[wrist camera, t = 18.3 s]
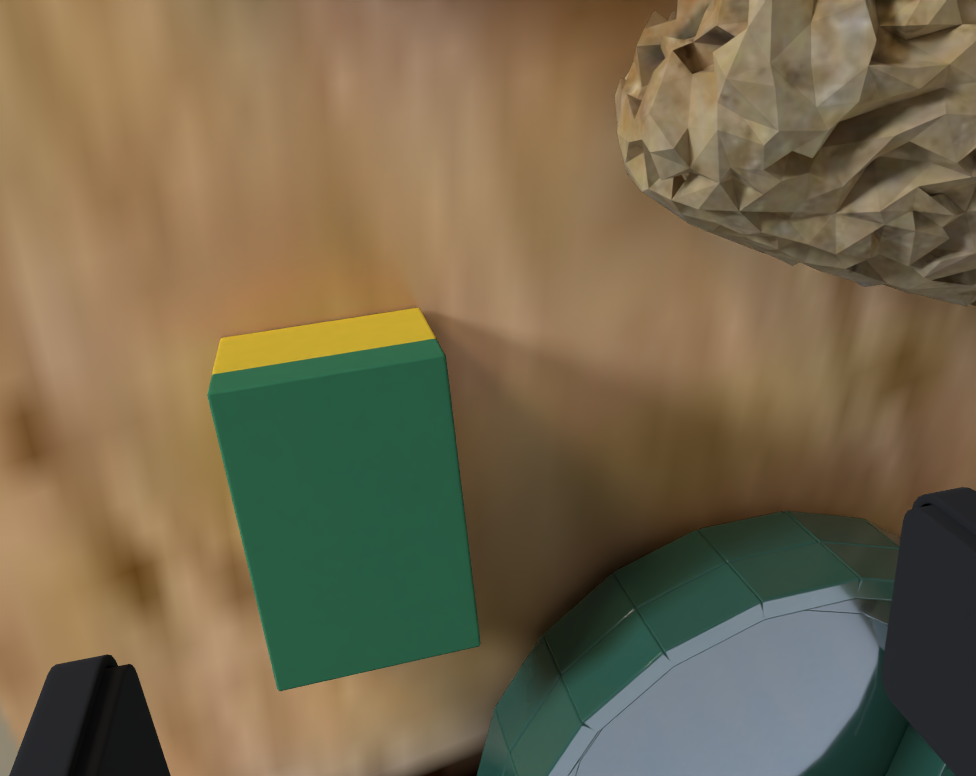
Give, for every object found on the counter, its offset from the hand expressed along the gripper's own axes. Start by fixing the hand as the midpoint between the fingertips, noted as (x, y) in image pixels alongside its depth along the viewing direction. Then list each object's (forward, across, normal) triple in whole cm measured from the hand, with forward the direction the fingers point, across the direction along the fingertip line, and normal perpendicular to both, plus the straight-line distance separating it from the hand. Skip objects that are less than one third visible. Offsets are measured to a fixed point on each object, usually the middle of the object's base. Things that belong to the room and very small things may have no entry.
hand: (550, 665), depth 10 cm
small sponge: (+11, +2, +2) cm, 11 cm away
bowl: (+10, -8, +14) cm, 19 cm away
